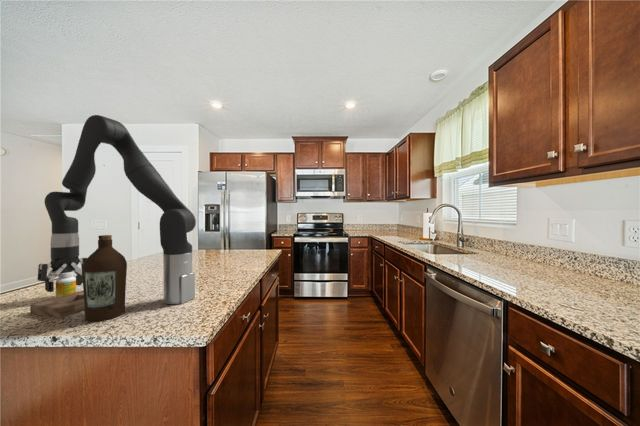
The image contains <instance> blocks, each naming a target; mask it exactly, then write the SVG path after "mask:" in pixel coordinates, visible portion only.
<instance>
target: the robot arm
mask: <svg viewBox="0 0 640 426" xmlns="http://www.w3.org/2000/svg"><path fill="white" fill-rule="evenodd" d="M101 143H102V144H107V145H110V146H111V147H113V148H114V149H115V150H116V151H117V153H118V154H119V155H120V157H121V158H122V160H123V171H124V174H125V176H126V177H127V179H128V180H129V182H130V183H131V184H132V185H133V187H134V188H135V189H136V190H137V191H138V192H139V193H140V194H141V195H143V196H144V197H145V198H147V199H148V200H150V201H151V202H153V203H154V204H155V205H156V206H158V208H160V209H161V211H162V212H163V213H162V214H161V216H160V219H159V240H160V242H159V243H160V247H161V248H162V253H163V263H162V264H163V266H162V269H163V270H162V271H163V276H162V277H163V280H162V281H163V283H162V285H163V303H164V304H166V305H176V304H178V305H179V304H184V303H186V302H188V301H192V300H193V299H195V298H196V289H195V288H196V283H195V282H196V281H195V280H196V274H195V272H193V245H192V244H191V242H189V241H188V234H187V233H190V232H192V231H193V230H195V229H194V228H195V227H196V223H197V220H196V217H195V214H194V213H193V212H192V211H191V210H190V209H189V208H188V207H187V206H186V205H185V204H184V203H183V201H181V200H180V199H179V198H178V196H176V194H175V193H174V191H173V190H172V189H171V187H170V186H169V185H168V183H167V182H166V181H165V180H164V178H163V177H162V175H161V174H160V173H159V171H157V168H155V166H153V164H152V163H151V162H150V160H149V159H148V158H147V157H146V156H145V154H144V152H143V151H142V150H141V149H140V148H139V146H138V145H137V143H136V141H135V140H134V138H133V136H132V135H131V133H130V132H129V130H128V129H127V128H126V126H125V125H124V124H123V123H121V122H119V121H118V120H115V119H112V118H109V117H106V116H103V115H100V114H94V115H90V116H89V117H88V118H87V119H86V120H85V122H84V125H83V126H82V130H81V134H80V137H79V140H78V144H77V147H76V150H75V155H74V157H73V160H72V162H71V164H70V166H69V168H68V170H67V171H66V172H65V175H64V177H63V179H62V181H61V184H62V186H63V188H66V189H67V190H69V191H70V192H69V191H67V192H66V191H51V192H49V193H48V194H47V195H46V196H45V198H44V206H45V207H44V208H45V209H46V211H47V213H48V216H49V219H50V221H51V222H50V223H51V236H50V246H49V247H50V262H49V263H39V264H38V268H37V281H39V282H44V289H45V291H46V292H48V293H52V292H54V291H55V290H54V287H55V285H54V283H55V282H54V280H55V279H56V277H58V275H59V274H60V273H65V272H71V271H73V274H76V275H75V278H76V286H83V278H82V266H83V263H84V261H85V260H86V259H87V258H88V257H81V258H79V257H80V237H79V236H80V235H79V220H78V218H76V217H71V216H68V215H67V214H66V212H77V211H80V210H81V209H82V208H83V207H84V206H85V204H86V199H87V192H88V187H89V186H90V184H91V183H92V181H93V179H94V178H95V174H96V169H97V168H96V167H97V166H96V161H95V159H96V158H95V154H96V151H97V149H98V148H99V146H100V145H101ZM65 211H66V212H65ZM79 264H80V265H81V267H79V266H78V265H79ZM50 268H51V269H50ZM49 269H50V271H49V272H48V270H49Z"/></svg>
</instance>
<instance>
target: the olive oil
mask: <svg viewBox="0 0 640 426" xmlns="http://www.w3.org/2000/svg"><path fill="white" fill-rule="evenodd" d="M112 238H113V235H111V234H104V235H103V234H101V235H98V239H97V248H96V250H95V251H93V252H92V253H91V254H90V255H89V256H88V257H86V258H87V259H86V260H85V261H84V263H83V266H82V268H81V270H82V278H83V283H82V291H84V307H85V311H84V320H85V321H87V322H91V323H94V322H102V321H108V320H111V319H114V318H117V317H120V316H122V315H123V314H124V313H125V311H126V290H127V289H126V288H127V274H128V273H127V270H128V262H127V260H126V258H125V256H124V255H123V254H122V253H121V252H119V251H118V250H117V249H115V248H114V247H113V239H112Z"/></svg>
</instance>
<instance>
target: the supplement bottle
mask: <svg viewBox="0 0 640 426" xmlns="http://www.w3.org/2000/svg"><path fill="white" fill-rule="evenodd" d="M76 292H77V285H76V276H74V272H73V271H71V272H65V273H60V274H59V275H58V276H57V279H56V280H55V298H57V297H61V296H64V295H68V294H72V293H76Z"/></svg>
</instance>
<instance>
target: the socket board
mask: <svg viewBox="0 0 640 426" xmlns="http://www.w3.org/2000/svg"><path fill="white" fill-rule="evenodd" d="M29 308H30V309H29V310H30V315H35V316H36V315H37V316H43V317H49V318H56V319H63V318H66V317H69V316H73V315H75V314H78V313H79V314H80V313H81V312H85V307H84V291H83V290H80V291H76V293H72V294H68V295H64V296H61V297H57V298H56V297H53V298H50V299H46V300H42V301H38V302H34V303H31V304H30V306H29Z"/></svg>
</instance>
